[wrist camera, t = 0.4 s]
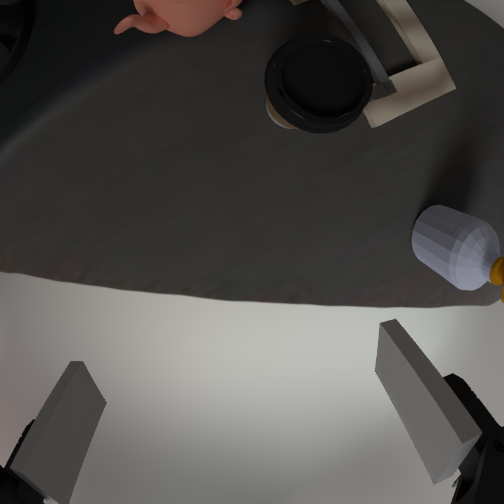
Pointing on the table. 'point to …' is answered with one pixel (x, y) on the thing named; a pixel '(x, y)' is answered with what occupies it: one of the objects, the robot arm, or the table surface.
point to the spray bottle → (458, 247)
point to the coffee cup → (317, 84)
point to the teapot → (179, 15)
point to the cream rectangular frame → (406, 82)
